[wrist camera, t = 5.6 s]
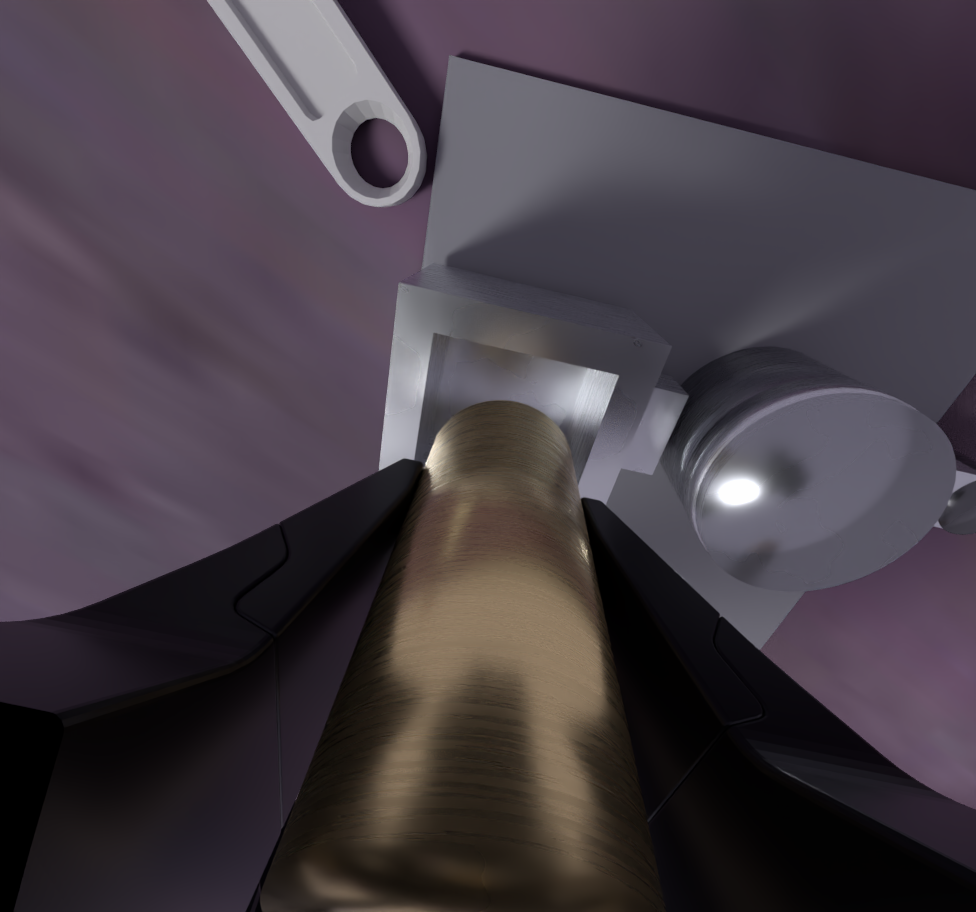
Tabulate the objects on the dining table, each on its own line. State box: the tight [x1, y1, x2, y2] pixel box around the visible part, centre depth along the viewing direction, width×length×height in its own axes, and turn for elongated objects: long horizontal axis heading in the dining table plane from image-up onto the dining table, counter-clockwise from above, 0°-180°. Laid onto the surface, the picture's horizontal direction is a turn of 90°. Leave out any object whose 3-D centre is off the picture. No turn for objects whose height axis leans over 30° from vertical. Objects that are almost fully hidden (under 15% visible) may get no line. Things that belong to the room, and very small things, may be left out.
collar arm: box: [379, 263, 976, 535], centre depth 13 cm, size 20×6×4 cm, turn 78°
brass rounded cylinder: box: [260, 400, 666, 912], centre depth 7 cm, size 3×3×8 cm
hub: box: [659, 346, 956, 592], centre depth 14 cm, size 6×6×5 cm
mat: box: [422, 55, 976, 650], centre depth 17 cm, size 19×18×1 cm
